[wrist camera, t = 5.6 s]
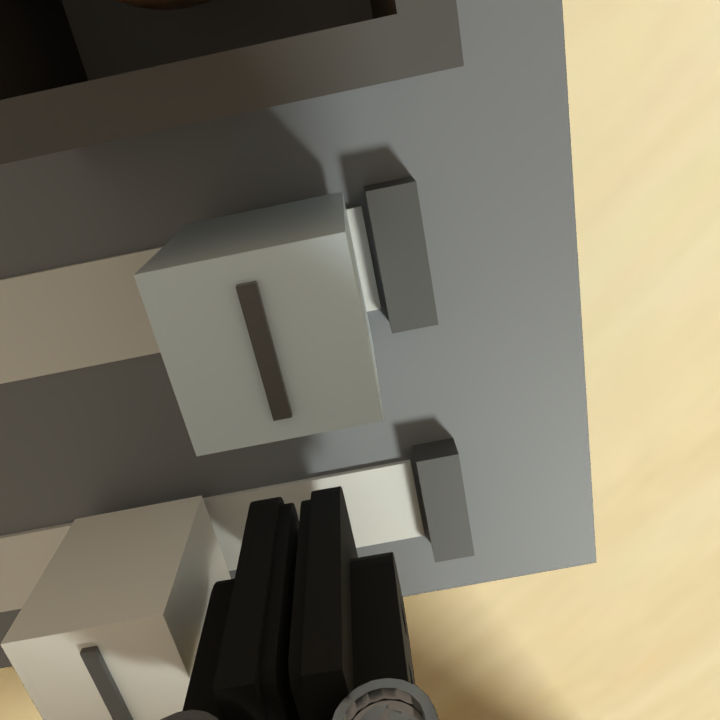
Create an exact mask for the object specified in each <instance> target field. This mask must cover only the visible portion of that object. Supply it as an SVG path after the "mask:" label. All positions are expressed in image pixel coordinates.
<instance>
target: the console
mask: <svg viewBox="0 0 720 720" xmlns="http://www.w3.org/2000/svg"><path fill="white" fill-rule="evenodd" d="M338 192H343V197H344V202H345V207H346V212H347V217H348V222H349V227H350V232H351V237H352V242H353V247H354V251H355V256H356V261H357V266H358V271H359V276H360V281H361V286H362V291H363V296H364V301H365V306H366V311H367V316H368V321H369V326H370V331H371V336H372V342H373V349H374V355H375V362H376V369H377V376H378V383H379V390H380V396H381V403H382V410H383V417H384V421H381V422H376V423H370V424H365V425H360V426H355V427H349V428H344V429H339V430H334V431H328V432H323V433H318V434H312V435H307V436H302V437H297V438H291V439H286V440H281V441H275V442H270V443H265V444H260V445H254V446H249V447H244V448H239V449H233V450H228V451H223V452H217V453H212V454H207V455H202V456H196V454H195V451H194V448H193V445H192V442H191V439H190V436H189V433H188V430H187V428H186V425H185V422H184V419H183V416H182V413H181V410H180V407H179V405H178V402H177V399H176V396H175V393H174V390H173V387H172V384H171V381H170V379H169V376H168V373H167V370H166V367H165V364H164V361H163V358H162V356H161V353H160V350H159V347H158V344H157V341H156V338H155V335H154V332H153V330H152V327H151V324H150V321H149V318H148V315H147V312H146V309H145V307H144V304H143V301H142V298H141V295H140V292H139V289H138V286H137V283H136V281H135V278H134V274H135V273H136V272H137V271H138V270H139V269H140V268H141V267H142V266H143V265H144V264H145V263H147V262H148V261H149V260H150V259H151V258H152V257H153V256H154V255H155V254H156V253H157V252H158V251H159V250H160V249H161V248H162V247H163V246H165V245H166V244H167V243H168V242H169V241H170V240H171V239H172V238H173V237H174V236H175V235H176V234H177V233H178V232H179V231H180V230H181V229H182V228H184V227H185V226H186V225H187V224H188V223H192V222H197V221H202V220H207V219H212V218H216V217H221V216H226V215H231V214H236V213H241V212H246V211H250V210H255V209H260V208H265V207H270V206H275V205H280V204H284V203H289V202H294V201H299V200H304V199H309V198H314V197H318V196H323V195H328V194H333V193H338ZM338 486H341V487H342V490H343V494H344V498H345V502H346V506H347V511H348V515H349V519H350V524H351V528H352V532H353V537H354V541H355V545H356V550H357V554H358V558H359V557H364V556H370V555H376V554H382V553H388V552H393V553H394V557H395V562H396V567H397V572H398V577H399V582H400V587H401V592H402V597H405V596H410V595H416V594H422V593H427V592H433V591H439V590H444V589H450V588H456V587H461V586H467V585H472V584H478V583H484V582H489V581H495V580H501V579H506V578H512V577H518V576H523V575H529V574H534V573H540V572H546V571H551V570H557V569H563V568H568V567H574V566H580V565H585V564H591V563H596V547H595V531H594V514H593V498H592V482H591V465H590V449H589V433H588V416H587V400H586V384H585V367H584V351H583V335H582V318H581V302H580V286H579V269H578V253H577V237H576V220H575V204H574V187H573V171H572V155H571V138H570V122H569V106H568V89H567V73H566V57H565V40H564V24H563V8H562V0H212V1H210V2H207V3H204V4H200V5H197V6H194V7H190V8H183V9H176V10H153V9H147V8H140V7H135V6H132V5H128V4H125V3H122V2H118V1H115V0H0V644H1V642H2V641H3V639H4V637H5V636H6V634H7V632H8V631H9V629H10V627H11V625H12V624H13V622H14V620H15V619H16V617H17V615H18V614H19V612H20V610H21V609H22V607H23V605H24V604H25V602H26V600H27V599H28V597H29V595H30V594H31V592H32V590H33V589H34V587H35V585H36V584H37V582H38V580H39V579H40V577H41V575H42V574H43V572H44V570H45V569H46V567H47V565H48V564H49V562H50V560H51V559H52V557H53V555H54V554H55V552H56V550H57V549H58V547H59V545H60V543H61V542H62V540H63V538H64V537H65V535H66V533H67V532H68V530H69V528H70V527H71V525H72V523H73V522H74V520H75V519H78V518H83V517H89V516H94V515H100V514H105V513H110V512H116V511H121V510H126V509H132V508H137V507H142V506H148V505H153V504H158V503H164V502H169V501H174V500H180V499H185V498H191V497H196V496H201V495H202V498H203V500H204V503H205V506H206V509H207V512H208V515H209V517H210V520H211V523H212V526H213V529H214V532H215V534H216V537H217V540H218V543H219V546H220V549H221V551H222V554H223V557H224V560H225V563H226V566H227V568H228V571H229V574H230V577H231V579H235V574H236V569H237V564H238V559H239V555H240V550H241V545H242V540H243V535H244V530H245V525H246V520H247V515H248V510H249V505H250V503H251V502H252V501H258V500H264V499H269V498H275V497H281V498H282V499H283V501H284V504H287V503H294V505H295V508H296V511H297V515H298V518H299V520H300V507H301V501H304V500H310V499H311V492H312V491H315V490H321V489H327V488H333V487H338ZM10 666H12V664H11V662H10V660H9V659H8V657H7V655H6V653H5V652H4V650H3V648H2V646H1V645H0V668H4V667H10Z"/></svg>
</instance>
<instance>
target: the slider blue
mask: <svg viewBox="0 0 720 720" xmlns="http://www.w3.org/2000/svg"><path fill="white" fill-rule="evenodd" d="M134 278H135V281H136V283H137V286H138V289H139V292H140V295H141V298H142V301H143V304H144V307H145V309H146V312H147V315H148V318H149V321H150V324H151V327H152V330H153V332H154V335H155V338H156V341H157V344H158V347H159V350H160V353H161V356H162V358H163V361H164V364H165V367H166V370H167V373H168V376H169V379H170V381H171V384H172V387H173V390H174V393H175V396H176V399H177V402H178V405H179V407H180V410H181V413H182V416H183V419H184V422H185V425H186V428H187V430H188V433H189V436H190V439H191V442H192V445H193V448H194V451H195V454H196V456H202V455H207V454H212V453H217V452H223V451H228V450H233V449H239V448H244V447H249V446H254V445H260V444H265V443H270V442H275V441H281V440H286V439H291V438H297V437H302V436H307V435H312V434H318V433H323V432H328V431H334V430H339V429H344V428H349V427H355V426H360V425H365V424H370V423H376V422H381V421H384V417H383V410H382V403H381V396H380V390H379V383H378V376H377V369H376V362H375V355H374V349H373V342H372V336H371V331H370V326H369V321H368V316H367V311H366V306H365V301H364V296H363V291H362V286H361V281H360V276H359V271H358V266H357V261H356V256H355V251H354V247H353V242H352V237H351V232H350V227H349V222H348V217H347V212H346V207H345V202H344V197H343V192H338V193H333V194H328V195H323V196H318V197H314V198H309V199H304V200H299V201H294V202H289V203H284V204H280V205H275V206H270V207H265V208H260V209H255V210H250V211H246V212H241V213H236V214H231V215H226V216H221V217H216V218H212V219H207V220H202V221H197V222H192V223H188V224H187V225H186V226H185V227H184V228H182V229H181V230H180V231H179V232H178V233H177V234H176V235H175V236H174V237H173V238H172V239H171V240H170V241H169V242H168V243H167V244H166V245H165V246H163V247H162V248H161V249H160V250H159V251H158V252H157V253H156V254H155V255H154V256H153V257H152V258H151V259H150V260H149V261H148V262H147V263H145V264H144V265H143V266H142V267H141V268H140V269H139V270H138V271H137V272H136V273H135V274H134Z"/></svg>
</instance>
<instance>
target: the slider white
mask: <svg viewBox="0 0 720 720" xmlns="http://www.w3.org/2000/svg"><path fill="white" fill-rule="evenodd" d="M229 579H231V577H230V574H229V571H228V568H227V566H226V563H225V560H224V557H223V554H222V551H221V549H220V546H219V543H218V540H217V537H216V534H215V532H214V529H213V526H212V523H211V520H210V517H209V515H208V512H207V509H206V506H205V503H204V500H203V498H202V495H201V496H196V497H191V498H185V499H180V500H174V501H169V502H164V503H158V504H153V505H148V506H142V507H137V508H132V509H126V510H121V511H116V512H110V513H105V514H100V515H94V516H89V517H83V518H78V519H75V520H74V522H73V523H72V525H71V527H70V528H69V530H68V532H67V533H66V535H65V537H64V538H63V540H62V542H61V543H60V545H59V547H58V549H57V550H56V552H55V554H54V555H53V557H52V559H51V560H50V562H49V564H48V565H47V567H46V569H45V570H44V572H43V574H42V575H41V577H40V579H39V580H38V582H37V584H36V585H35V587H34V589H33V590H32V592H31V594H30V595H29V597H28V599H27V600H26V602H25V604H24V605H23V607H22V609H21V610H20V612H19V614H18V615H17V617H16V619H15V620H14V622H13V624H12V625H11V627H10V629H9V631H8V632H7V634H6V636H5V637H4V639H3V641H2V642H1V644H0V645H1V646H2V648H3V650H4V652H5V653H6V655H7V657H8V659H9V660H10V662H11V664H12V666H13V668H14V669H15V671H16V673H17V675H18V676H19V678H20V680H21V682H22V683H23V685H24V687H25V689H26V690H27V692H28V694H29V696H30V698H31V699H32V701H33V703H34V705H35V706H36V708H37V710H38V712H39V713H40V715H41V717H42V719H43V720H161V719H163V718H165V717H167V716H169V715H172V714H174V713H176V712H181V711H183V706H184V702H185V698H186V694H187V690H188V686H189V682H190V678H191V673H192V669H193V665H194V661H195V657H196V653H197V649H198V644H199V640H200V636H201V632H202V628H203V624H204V620H205V616H206V611H207V607H208V603H209V599H210V595H211V591H212V588H213V586H214V584H215V583H216V582H217V581H223V580H229Z"/></svg>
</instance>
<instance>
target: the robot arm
mask: <svg viewBox="0 0 720 720" xmlns="http://www.w3.org/2000/svg"><path fill="white" fill-rule="evenodd" d="M161 720H439V719H438V716H437V713H436V710H435V708H434V706H433V704H432V702H431V700H430V699H429V697H428V695H426V694H425V693H424V692H423V691H422V690H421V689H420V688H419V687H418V686H416V685H415V680H414V673H413V665H412V658H411V650H410V643H409V635H408V628H407V622H406V615H405V609H404V603H403V598H402V592H401V587H400V582H399V577H398V572H397V567H396V562H395V557H394V553H393V552H388V553H382V554H376V555H370V556H364V557H359V558H358V554H357V550H356V545H355V541H354V537H353V532H352V528H351V524H350V519H349V515H348V511H347V506H346V502H345V498H344V494H343V490H342V487H341V486H338V487H333V488H327V489H321V490H315V491H312V492H311V499H310V500H304V501H301V507H300V520H299V518H298V515H297V511H296V508H295V505H294V503H287V504H284V501H283V499H282V498H281V497H275V498H269V499H264V500H258V501H252V502H251V503H250V505H249V510H248V515H247V520H246V525H245V530H244V535H243V540H242V545H241V550H240V555H239V559H238V564H237V569H236V574H235V579H229V580H223V581H217V582H216V583H215V584H214V586H213V588H212V591H211V595H210V599H209V603H208V607H207V611H206V616H205V620H204V624H203V628H202V632H201V636H200V640H199V644H198V649H197V653H196V657H195V661H194V665H193V669H192V673H191V678H190V682H189V686H188V690H187V694H186V698H185V702H184V706H183V711H181V712H176V713H174V714H172V715H169V716H167V717H165V718H163V719H161Z"/></svg>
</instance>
